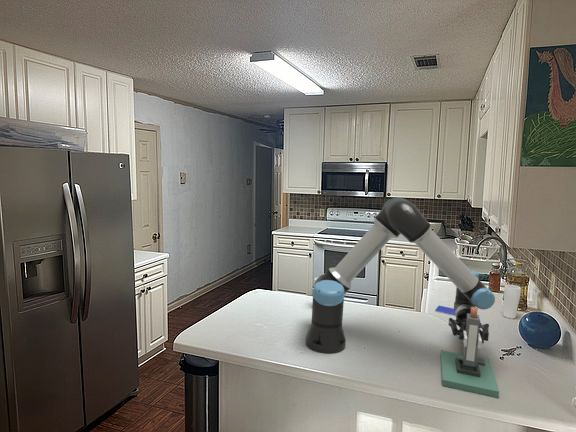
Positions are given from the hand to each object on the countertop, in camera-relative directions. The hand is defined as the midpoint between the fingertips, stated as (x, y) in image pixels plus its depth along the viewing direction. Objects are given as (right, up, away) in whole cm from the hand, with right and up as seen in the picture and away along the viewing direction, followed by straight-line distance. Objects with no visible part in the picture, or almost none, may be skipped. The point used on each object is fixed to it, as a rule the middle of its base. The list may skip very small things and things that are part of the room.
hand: (473, 343), depth 126 cm
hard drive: (+19, -6, +64) cm, 67 cm away
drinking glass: (+46, -7, +61) cm, 77 cm away
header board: (+1, -13, +7) cm, 14 cm away
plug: (+2, -8, +6) cm, 11 cm away
